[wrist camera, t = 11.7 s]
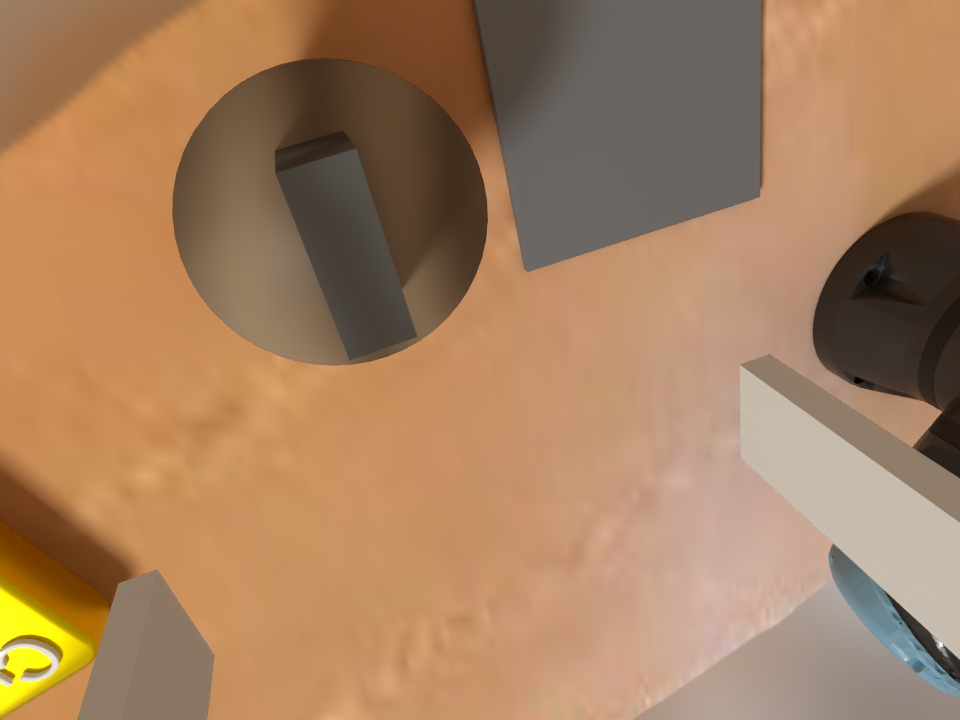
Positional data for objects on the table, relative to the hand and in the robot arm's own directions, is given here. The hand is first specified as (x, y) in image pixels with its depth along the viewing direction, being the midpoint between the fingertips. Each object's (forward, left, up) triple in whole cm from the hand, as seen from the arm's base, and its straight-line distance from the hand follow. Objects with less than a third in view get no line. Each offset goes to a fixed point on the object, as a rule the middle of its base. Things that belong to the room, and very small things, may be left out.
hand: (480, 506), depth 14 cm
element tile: (+34, +18, -30) cm, 49 cm away
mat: (-19, -1, -29) cm, 35 cm away
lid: (+1, -2, -20) cm, 20 cm away
